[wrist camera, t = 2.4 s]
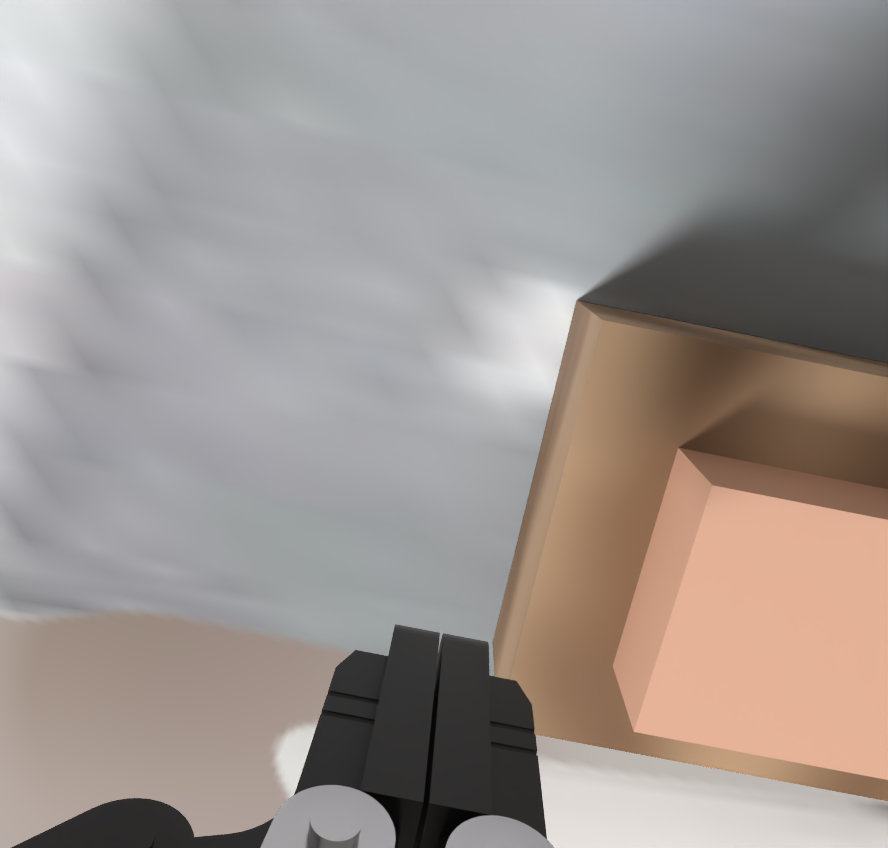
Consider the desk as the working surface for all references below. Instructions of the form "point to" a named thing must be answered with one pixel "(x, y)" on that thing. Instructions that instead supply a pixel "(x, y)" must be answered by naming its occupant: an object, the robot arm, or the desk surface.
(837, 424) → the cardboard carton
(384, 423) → the desk surface
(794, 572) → the tile
